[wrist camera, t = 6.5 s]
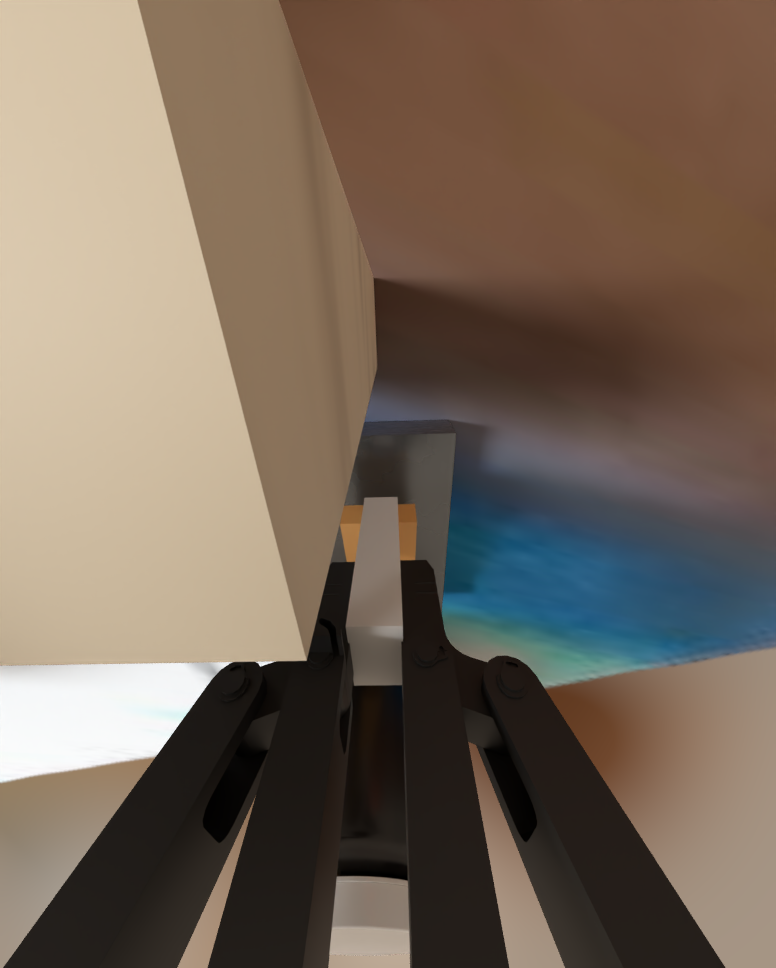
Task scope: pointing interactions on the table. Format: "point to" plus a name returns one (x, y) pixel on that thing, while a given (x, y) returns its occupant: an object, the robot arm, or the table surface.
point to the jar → (373, 831)
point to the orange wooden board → (406, 530)
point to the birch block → (170, 335)
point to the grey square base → (408, 481)
